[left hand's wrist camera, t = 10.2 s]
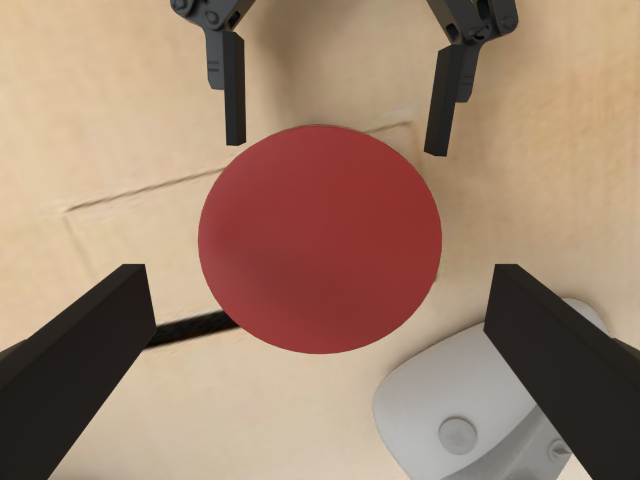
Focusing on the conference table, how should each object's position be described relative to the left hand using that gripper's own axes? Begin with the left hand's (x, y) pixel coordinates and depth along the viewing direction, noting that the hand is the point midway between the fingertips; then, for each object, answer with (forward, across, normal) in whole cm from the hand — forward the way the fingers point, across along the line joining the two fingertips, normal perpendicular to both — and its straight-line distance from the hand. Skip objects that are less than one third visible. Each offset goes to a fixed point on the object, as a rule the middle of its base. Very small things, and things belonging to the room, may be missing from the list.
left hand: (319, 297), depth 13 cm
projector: (+20, +17, -20) cm, 33 cm away
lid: (+5, 0, 0) cm, 5 cm away
